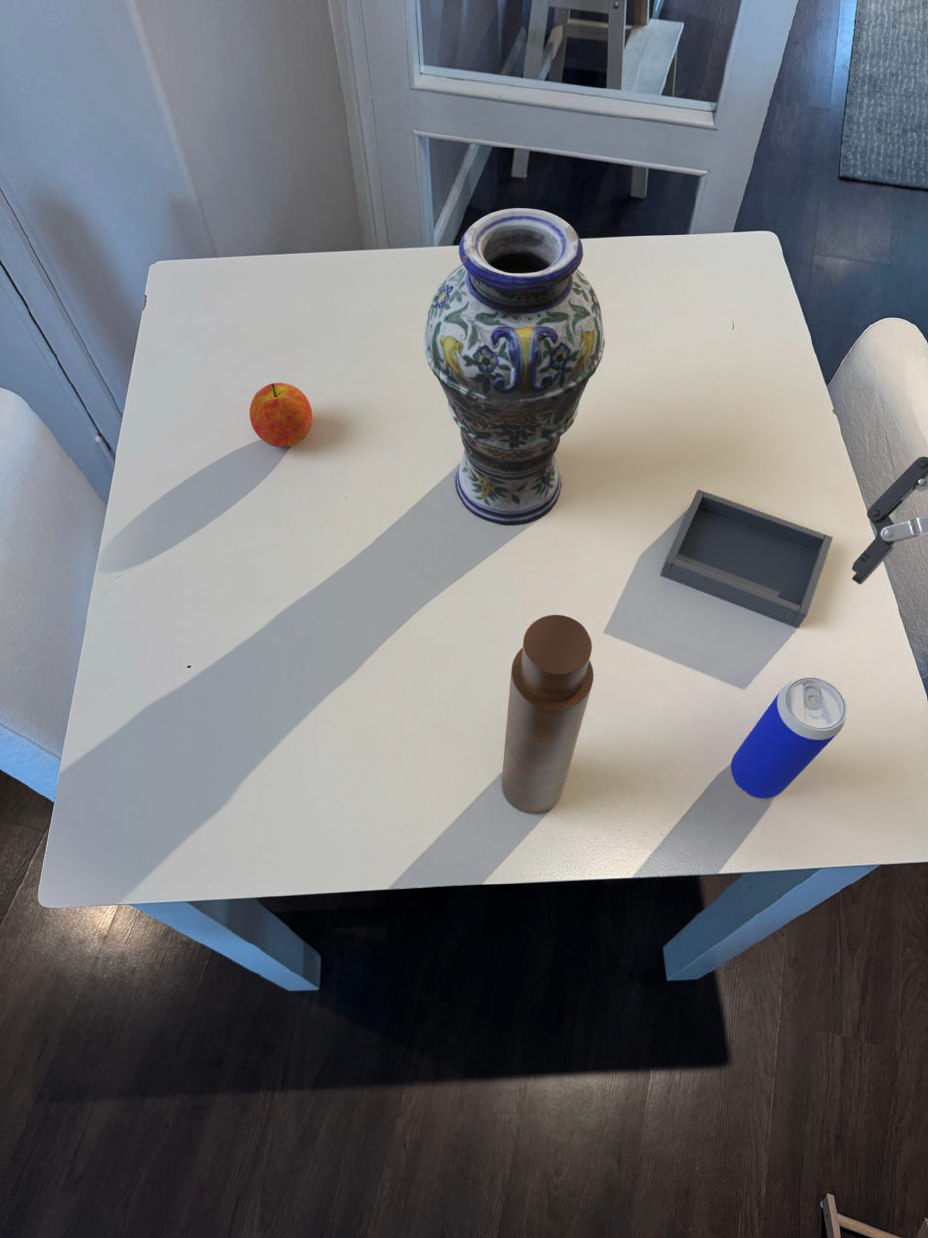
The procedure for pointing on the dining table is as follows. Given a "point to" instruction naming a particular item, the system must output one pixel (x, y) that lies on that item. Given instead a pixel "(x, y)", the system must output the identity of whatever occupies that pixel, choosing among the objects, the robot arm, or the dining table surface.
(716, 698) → the dining table surface
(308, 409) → the fruit
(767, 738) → the beverage can
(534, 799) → the bottle
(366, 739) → the dining table surface
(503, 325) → the vase
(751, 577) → the dark gray tray
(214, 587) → the dining table surface
